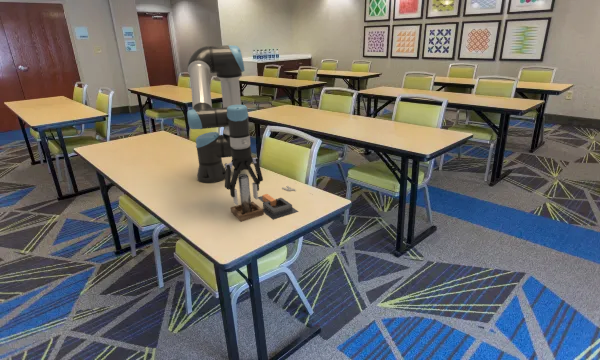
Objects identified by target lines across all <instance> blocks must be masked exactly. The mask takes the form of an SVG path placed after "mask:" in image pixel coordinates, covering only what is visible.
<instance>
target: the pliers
mask: <svg viewBox="0 0 600 360" xmlns="http://www.w3.org/2000/svg"><path fill="white" fill-rule="evenodd" d="M281 189H282V190H284V191H286V192H296V191H297V189H296V188H292V187H291V186H289V185H286V187H281ZM309 194H310V195H312V193H310V192H309Z"/></svg>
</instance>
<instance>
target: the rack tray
mask: <svg viewBox="0 0 600 360" xmlns="http://www.w3.org/2000/svg"><path fill="white" fill-rule="evenodd" d="M251 206H252V212H249V213H246V214H242V207H241V204H238V205H235V206H230V213H231V214H232V215H233V216H234V217H236V219H237V220H238V221H240V222H245V221H248V220H251V219H254V218H258V217H261V216H264V215H265V213H264V212H263V207H260V205H258V204H257V203H255V202H254V201H253V200H251Z"/></svg>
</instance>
